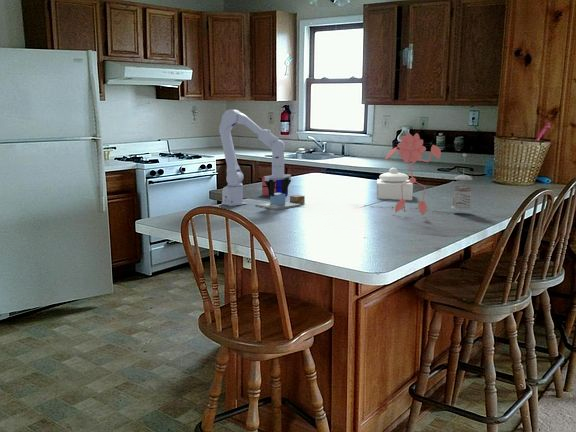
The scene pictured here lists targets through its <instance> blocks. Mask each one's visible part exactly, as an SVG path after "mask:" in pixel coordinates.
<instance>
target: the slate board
mask: <svg viewBox="0 0 576 432" xmlns="http://www.w3.org/2000/svg"><path fill="white" fill-rule="evenodd" d="M258 206H260V207H259V208H262V207H265V208H264V209H267V208H269V209H268V210H271V209H273V210H272V211H281V210H286V209H292V208H299V207H300V208H301V207H302V204H297V203H291V202H290V201H285V204H284V205H278V206H277V205H272V204H270V202H269V201H268V202H265V203H264V202H262V203H256V204H255V207H258ZM280 209H281V210H280Z"/></svg>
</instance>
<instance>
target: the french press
mask: <svg viewBox="0 0 576 432" xmlns="http://www.w3.org/2000/svg"><path fill="white" fill-rule="evenodd" d="M467 156H468V155H467V154H466V153H462V157H463V161H466V160H465V158H466V157H467ZM462 173H463V174H459V175H458V176H457V175H456V176H455V177H454V178H453V179H454V180H456V181H472V180H473V177H471V176H469V175H466V174H465V169H463V172H462ZM454 180H453V181H450V182H449V183H448V185H447V189H449V187H450V185H451V184H452V183H453V185H455V184H456V182H455V181H454ZM454 188H455V189H454V190H453V195H451V194H450V192H449V190H447V193H448V195H449V196H450V197H452V205H451V206H450V208H451V209H454V210H458V211H459V210H461V211H463V210H464V211H467V210H468V211H469V210H473V209H474V208H473V206H471V205H472V204H471V202H472V190H471V188H472V187H471V186H468V185H467V186H465V185H456V186H454Z"/></svg>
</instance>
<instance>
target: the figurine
mask: <svg viewBox="0 0 576 432" xmlns="http://www.w3.org/2000/svg"><path fill="white" fill-rule="evenodd" d="M400 140H401V141H400V142H398V144H397V146H395V147H393V148H391V150H389V152H388V153H387V154H386V156H385V158H384V160H388V159H389V158H391V157H392V156H393V155H394V154H395V153H396V152H398V155H399V156H400V157H401V159H402V160H403V162H404V163H409V162H411V163H410V164H409V170H410V171H409V172H410V175H411V177H409V180H410V181H408V182H410V183H412V184H413V185H414V184H415V183H416V184H418V185H420V186H422V187H423V188H424V190H423V196H422V199H421V200H420V201H419V202H418V205H417V209H418V212H419V213H420V214H421V215H422V216H424V215H425V214H426V212H427V209H428V206H427V204H426V201H424V199H425V194H426V186H425V185H423V184H422V183H420V182H419V183H418V182H417V179H416V177H413V171H412V167H411V166H412V165H414V163H417V162H418V161H420V162H426V163H429V162H430V160H431V157H432V155H433V157H435V158H437V159H438V160H440V159H441V155H442V152H441V148H440V147H438V145H435V144H432V146H431V147H430V153H429V157H428V159H427V160H425V159H422V158H423V154H422V153H425V152H426V150H427V148H426V146H424V139H421V137H420V134H419V133H415V134H414V135H412V134H411V133H409V132H407V133H406V135H402V136H401V137H400ZM408 182H406V183H408ZM406 183H404V184H406ZM404 184H402V185H404ZM405 205H406V200H405V199H403V190H402V199H401V200H399V201H397V203H396V204H395V207H394V209H391V210H394V213H395V214H396V213H398V212H400V211H401V210H402V209H403V212H404V213H405V212H406V208H405ZM392 216H393V217H395V215H394V214H392ZM397 217H398V218H401V216H399V215H397ZM406 218H409V219H413V217H410V216H405V219H406ZM424 218H425V219H426V218H427V217H424Z"/></svg>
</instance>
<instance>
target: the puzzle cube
mask: <svg viewBox="0 0 576 432" xmlns="http://www.w3.org/2000/svg"><path fill="white" fill-rule="evenodd" d="M266 176H267V175H265V176H261V185H262V186H261V195H262V196H266V197H270V194H269V190H268V187H267V185H266V183H265V177H266ZM276 179H278V178H276ZM273 181H274V182H276V184H275V188H274V193H282V185H281V181H280V180H273ZM288 195H289V188H288V189H287V193H286V195H285V196H288Z"/></svg>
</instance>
